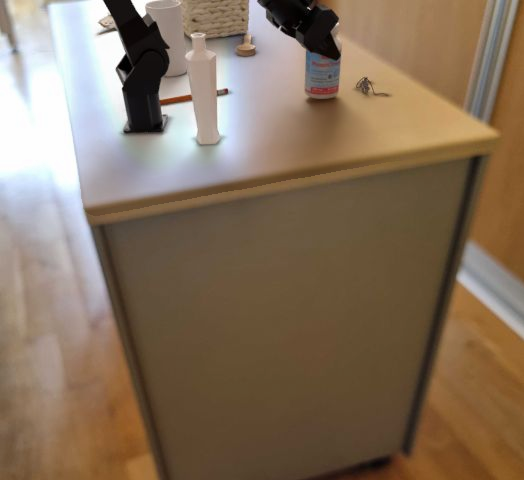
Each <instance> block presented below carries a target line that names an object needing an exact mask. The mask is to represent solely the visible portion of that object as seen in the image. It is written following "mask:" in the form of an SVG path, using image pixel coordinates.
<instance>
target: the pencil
mask: <svg viewBox="0 0 524 480" xmlns="http://www.w3.org/2000/svg"><path fill="white" fill-rule="evenodd" d="M226 94H229V87H228V88H227V87H226V88H219V89H217V96H220V95H226ZM190 100H192V95H191V93H190V94H185V95H178V96H172V97H168V98H167V97H166V98H161V99H160V105H161V106H162V105H168V104H173V103H181V102H186V101H190Z"/></svg>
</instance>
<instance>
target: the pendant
mask: <svg viewBox="0 0 524 480" xmlns="http://www.w3.org/2000/svg"><path fill="white" fill-rule="evenodd" d="M368 78H369V77H368V76H363V77H362V78H360V80H359V81H358V82H357V83H356V85H355V88H357V89H358V88H360V90H361V91H362V92H364V93H365V94H368V92H369V91H370V90H371V89H372V93H373V95H375V96H378V95H386V96H389V94H387V93H384V92H380V93H375V91H374V87H373V85H372V81H370V80H369V79H368ZM369 84H370V86H369ZM358 85H360V86H358Z"/></svg>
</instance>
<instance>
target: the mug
mask: <svg viewBox="0 0 524 480" xmlns="http://www.w3.org/2000/svg"><path fill="white" fill-rule="evenodd" d="M144 9H145V15H146V14H147V13H150V15H151V16H152V17H153V18H154V20H155V21H156V22H157V25H158V28H159V30H160V34H161V36H162V38H163V39H164V40H165V42H166V43H167V44H168V45H169V47H170V49H166V51H167V53H168V56H169V59H170V64H169V67H168V71H167V72H166V74H165V75H164V76H163V77H178V76H182V75H185V74H186V73H187V67H186V62H185V55H186V54H187V52H186V43H185V32H184V30H183V20H182V10H181V2H180V1H177V0H152V1H148V2H147V3H145V4H144Z"/></svg>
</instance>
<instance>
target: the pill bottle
mask: <svg viewBox="0 0 524 480" xmlns="http://www.w3.org/2000/svg"><path fill="white" fill-rule="evenodd" d="M339 32H340V23H339V22H338V23H337V24H336V25H335V27H334V28H333V29H332V30H331V34H332V36H333V39H334V41H335V43H336V45H337V48H338V50H339V52H340V54H341V55H342V47H343V43H342V41H341V38H339V37H338V35H339ZM341 63H342V56H341V57H340V58H339V59H338V60H337V61H335V60H333V59H330V58H328V57H325V56H322V55H320V54H317V53H314V52H312V53H310V52H309V51H308V50H306V49H305V66H304V67H305V68H304V70H305V71H304V94H305V95H306V96H308V97H309V98H312V99H316V100H328V99H332V98H335V97H336V96H337V95H339V89H340V78H341V76H340V75H341Z"/></svg>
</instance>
